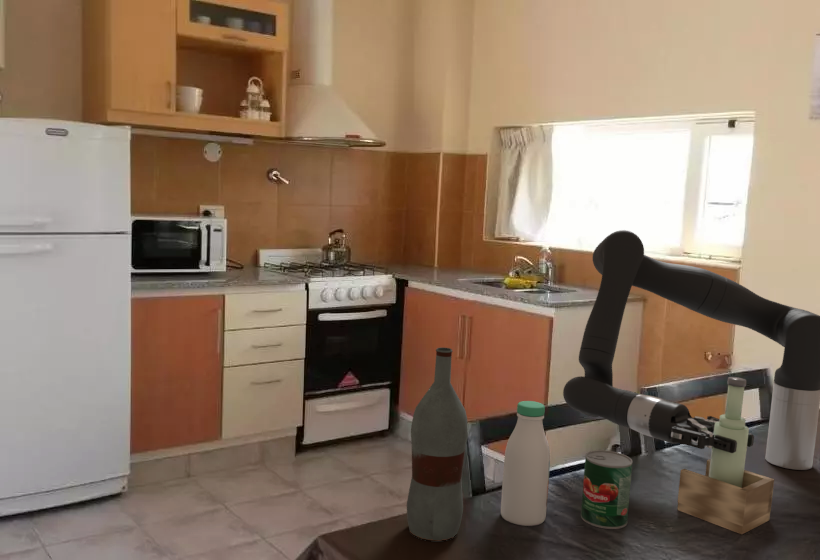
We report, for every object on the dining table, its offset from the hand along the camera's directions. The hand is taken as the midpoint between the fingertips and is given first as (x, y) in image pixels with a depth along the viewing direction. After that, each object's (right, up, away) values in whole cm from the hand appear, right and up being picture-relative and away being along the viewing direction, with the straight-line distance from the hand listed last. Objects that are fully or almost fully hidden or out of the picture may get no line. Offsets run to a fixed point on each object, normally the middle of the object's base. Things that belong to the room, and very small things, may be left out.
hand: (744, 444), depth 136 cm
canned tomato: (-25, -13, -1) cm, 28 cm away
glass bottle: (-2, -11, +3) cm, 12 cm away
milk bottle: (-39, -12, -2) cm, 41 cm away
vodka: (-54, -12, -9) cm, 56 cm away
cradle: (-2, -13, +3) cm, 14 cm away
